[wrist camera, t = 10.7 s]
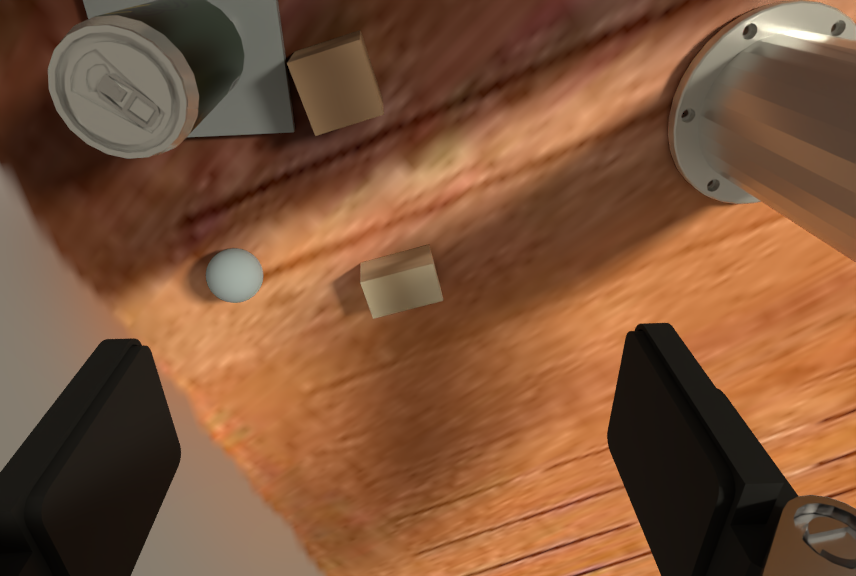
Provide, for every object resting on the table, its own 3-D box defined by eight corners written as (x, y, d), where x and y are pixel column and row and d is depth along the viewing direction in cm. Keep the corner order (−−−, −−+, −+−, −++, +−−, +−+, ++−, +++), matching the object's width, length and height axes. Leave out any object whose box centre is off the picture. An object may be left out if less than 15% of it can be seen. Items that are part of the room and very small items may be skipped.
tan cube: (360, 30, 34) (359, 39, 30) (382, 98, 36) (383, 114, 32) (294, 51, 34) (286, 63, 30) (320, 117, 36) (315, 136, 32)
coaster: (269, -61, 31) (267, -61, 30) (295, 128, 36) (293, 132, 35) (73, -56, 30) (66, -56, 29) (128, 136, 35) (123, 140, 35)
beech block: (428, 243, 41) (433, 263, 38) (438, 279, 42) (443, 300, 40) (360, 261, 41) (360, 282, 39) (372, 296, 43) (373, 318, 40)
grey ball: (262, 237, 39) (253, 262, 36) (270, 283, 41) (262, 311, 38) (207, 240, 39) (194, 266, 36) (218, 287, 41) (206, 314, 38)
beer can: (266, 43, 33) (220, 88, 22) (213, 117, 34) (148, 190, 24) (178, -30, 30) (83, -18, 20) (127, 53, 32) (14, 103, 22)
